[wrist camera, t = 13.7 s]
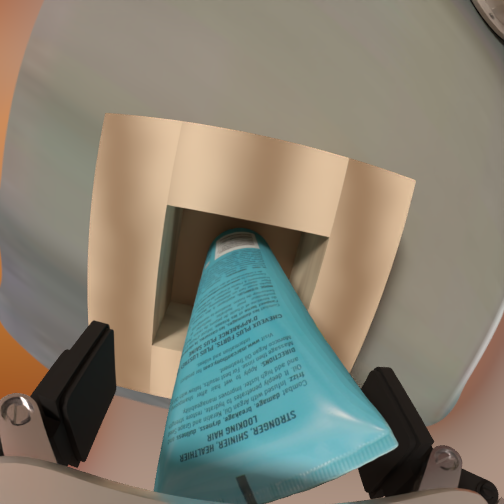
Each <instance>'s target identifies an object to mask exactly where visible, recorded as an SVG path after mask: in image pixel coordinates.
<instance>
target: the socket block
mask: <svg viewBox="0 0 504 504" xmlns="http://www.w3.org/2000/svg"><path fill="white" fill-rule="evenodd" d="M415 182H416V180H413V179H411V178H408V177H405V176H402V175H399V174H397V173H394V172H391V171H388V170H385V169H382V168H379V167H376V166H373V165H370V164H367V163H363V162H360V161H357V160H354V159H350V158H347V157H344V156H340V155H337V154H333V153H330V152H326V151H323V150H319V149H315V148H311V147H307V146H304V145H300V144H296V143H292V142H287V141H283V140H279V139H275V138H270V137H266V136H261V135H256V134H252V133H247V132H242V131H237V130H231V129H226V128H221V127H215V126H209V125H203V124H197V123H190V122H184V121H176V120H169V119H161V118H153V117H144V116H134V115H123V114H111V113H105V118H104V123H103V128H102V133H101V139H100V145H99V151H98V157H97V164H96V171H95V178H94V186H93V195H92V205H91V216H90V230H89V248H88V323H89V325H90V323H91V322H92V321H93V320H95V321H99V322H102V323H106V324H109V326H110V329H113V330H114V348H115V371H116V385H117V386H120V387H124V388H128V389H132V390H136V391H140V392H144V393H148V394H152V395H157V396H161V397H166V398H170V399H171V398H172V394H173V389H174V385H175V381H176V377H177V372H178V368H179V364H180V359H181V355H182V351H183V347H184V343H185V339H186V335H187V331H188V327H189V323H190V319H191V314H192V311H193V307H194V303H195V299H196V295H197V291H198V287H199V283H200V279H201V276H202V272H203V268H204V264H205V260H206V257H207V253H208V250H209V247H210V245H211V243H212V242H213V241H214V239H215V238H216V237H217V236H218V235H220V234H221V233H223V232H224V231H227V230H229V229H234V228H246V229H250V230H253V231H255V232H256V233H258V234H259V235H261V236H262V237H263V238H264V239H265V240H266V242H267V243H268V245H269V247H270V248H271V250H272V252H273V254H274V255H275V257H276V259H277V261H278V262H279V264H280V266H281V268H282V269H283V271H284V273H285V274H286V276H287V278H288V279H289V281H290V283H291V285H292V286H293V288H294V290H295V291H296V293H297V295H298V296H299V298H300V300H301V301H302V303H303V305H304V306H305V308H306V309H307V311H308V312H309V314H310V316H311V317H312V319H313V320H314V322H315V324H316V325H317V327H318V328H319V330H320V331H321V333H322V334H323V336H324V337H325V339H326V340H327V342H328V343H329V345H330V346H331V348H332V349H333V351H334V352H335V354H336V355H337V356H338V358H339V359H340V361H341V362H342V364H343V365H344V366H345V368H346V369H347V371H348V372H349V373H350V371H351V369H352V367H353V365H354V362H355V360H356V358H357V356H358V353H359V351H360V349H361V347H362V344H363V342H364V339H365V337H366V335H367V332H368V330H369V327H370V325H371V322H372V320H373V317H374V315H375V312H376V310H377V307H378V304H379V302H380V299H381V296H382V293H383V291H384V288H385V285H386V282H387V279H388V276H389V273H390V270H391V267H392V264H393V261H394V258H395V255H396V252H397V249H398V245H399V242H400V239H401V235H402V232H403V229H404V225H405V221H406V218H407V214H408V210H409V207H410V203H411V199H412V195H413V191H414V186H415Z"/></svg>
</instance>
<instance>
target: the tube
mask: <svg viewBox="0 0 504 504" xmlns="http://www.w3.org/2000/svg"><path fill="white" fill-rule="evenodd" d="M396 447H398V442H397V440H396V438H395V436H394V434H393V432H392V430H391V428H390V427H389V425H388V423H387V422H386V421H385V419H384V418H383V417H382V415H381V414H380V413H379V412H378V410H377V409H376V408H375V407H374V406H373V404H372V403H371V402H370V401H369V400H368V398H367V397H366V396H365V395H364V393H363V392H362V390H361V389H360V388H359V386H358V385H357V384H356V382H355V381H354V380H353V378H352V377H351V375H350V374H349V372H348V371H347V369H346V368H345V366H344V365H343V364H342V362H341V361H340V359H339V358H338V356H337V355H336V354H335V352H334V351H333V349H332V348H331V346H330V345H329V343H328V342H327V340H326V339H325V337H324V336H323V334H322V333H321V331H320V330H319V328H318V327H317V325H316V324H315V322H314V320H313V319H312V317H311V316H310V314H309V312H308V311H307V309H306V308H305V306H304V305H303V303H302V301H301V300H300V298H299V296H298V295H297V293H296V291H295V290H294V288H293V286H292V285H291V283H290V281H289V279H288V278H287V276H286V274H285V273H284V271H283V269H282V268H281V266H280V264H279V262H278V261H277V259H276V257H275V255H274V254H273V252H272V250H271V248H270V247H269V245H268V243H267V242H266V240H265V239H264V238H263V237H262V236H261V235H259V234H258V233H256V232H255V231H253V230H250V229H246V228H234V229H229V230H227V231H224V232H223V233H221V234H220V235H218V236H217V237H216V238H215V239H214V241H213V242H212V243H211V245H210V247H209V250H208V253H207V257H206V260H205V264H204V268H203V272H202V276H201V279H200V283H199V287H198V291H197V295H196V299H195V303H194V307H193V311H192V314H191V319H190V323H189V327H188V331H187V335H186V339H185V343H184V347H183V351H182V355H181V359H180V364H179V368H178V372H177V377H176V381H175V385H174V389H173V394H172V398H171V403H170V407H169V412H168V417H167V421H166V427H165V432H164V437H163V442H162V447H161V452H160V457H159V463H158V467H157V473H156V479H155V486H154V492H159V493H163V494H168V495H173V496H179V497H185V498H191V499H197V500H204V501H212V502H221V503H231V504H266V503H269V502H273V501H275V500H278V499H281V498H285V497H288V496H291V495H293V494H296V493H300V492H304V491H307V490H310V489H312V488H315V487H317V486H319V485H322V484H324V483H326V482H329V481H332V480H334V479H336V478H339V477H341V476H342V475H344V474H346V473H348V472H350V471H352V470H354V469H357V468H359V467H361V466H363V465H365V464H366V463H369V462H371V461H373V460H375V459H376V458H377V457H380V456H382V455H384V454H386V453H388V452H390V451H392V450H394V449H395V448H396Z"/></svg>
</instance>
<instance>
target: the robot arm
mask: <svg viewBox="0 0 504 504" xmlns="http://www.w3.org/2000/svg"><path fill="white" fill-rule="evenodd" d="M472 2H473V3H474V5H475V7H476V8H477V10H478V11H479V13H480V14H481V16H482V17H483V18H484V20H485V21H486V22H487V23H488V25H489V26H490V27H491V28H492V29H493V30H494V31H495V32H496V34H498V35H499V36H500V37H501V38H502V39H503V40H504V0H472ZM361 390H362V392H363V393H364V395H365V396H366V397H367V398H368V400H369V401H370V402H371V403H372V404H373V406H374V407H375V408H376V409H377V410H378V412H379V413H380V414H381V415H382V417H383V418H384V419H385V421H386V422H387V423H388V425H389V427H390V428H391V430H392V432H393V434H394V436H395V438H396V440H397V442H398V447H396V448H395V449H394V450H392V451H390V452H388V453H386V454H384V455H382V456H380V457H377V458H376V459H375V460H373V461H371V462H369V463H366V464H365V465H363V466H361V467H359V468H358V470H359V474H360V477H361V480H362V483H363V486H364V489H365V491H366V492H368V493H369V496H370V499H371V500H364V501H357V502H348V503H338V504H504V499H503V498H502V497H501V498H500V499H499V500H498V490H497V488H496V487H495V485H494V484H493V483H491V482H490V481H488V480H486V479H483V478H481V477H479V476H477V475H475V474H472V473H470V472H468V471H466V470H464V469H462V459H461V457H460V455H459V454H458V452H457V451H455V450H454V449H453V448H451V447H449V446H445V445H440V446H436V447H435V448H434V449H433V448H432V446H431V445H432V444H433V443H434V440H433V439H432V437H431V435H430V433H429V431H428V430H427V428H426V426H425V424H424V422H423V421H422V419H421V417H420V415H419V414H418V412H417V410H416V409H415V407H414V405H413V403H412V402H411V400H410V398H409V397H408V395H407V393H406V392H405V390H404V388H403V386H402V385H401V383H400V381H399V380H398V378H397V377H396V375H395V373H394V372H393V370H392V369H391V368H389V367H376V368H375V369H374V370H373V371H371V372H370V373H369V375H368V377H367V379H366V381H365V383H364V385H363V387H362V388H361ZM115 391H116V371H115V348H114V330H113V329H110V326H109V324H106V323H102V322H99V321H95V320H93V321H92V322H91V323H90V325H89V326H88V327H87V329H86V330H85V331H84V332H83V334H82V335H81V336H80V338H79V339H78V340H77V341H76V343H75V344H74V345H73V347H72V348H71V349H70V350H68V349H67V350H65V351H64V352H63V353H62V354H61V355H60V356H59V358H58V359H57V360H56V362H55V363H54V364H53V366H52V367H51V368H50V370H49V371H48V372H47V374H46V375H45V377H44V378H43V380H42V381H41V382H40V384H39V385H38V386H37V388H36V389H35V391H34V392H33V393H32V395H31V396H30V397H29V396H27V395H24V394H20V393H19V394H18V393H14V394H10V395H7V396H5V397H4V398H2V399H1V400H0V504H231V503H221V502H212V501H204V500H197V499H191V498H185V497H179V496H173V495H168V494H163V493H159V492H154V491H149V490H145V489H141V488H137V487H133V486H129V485H125V484H122V483H118V482H115V481H111V480H108V479H104V478H101V477H98V476H95V475H92V474H89V473H86V472H82V471H79V470H76V469H73V468H70V467H67V466H68V464H69V465H71V466H74V467H78V466H79V463H80V461H82V462H85V461H86V459H87V457H88V454H89V452H90V449H91V447H92V445H93V442H94V440H95V437H96V435H97V433H98V430H99V428H100V426H101V424H102V421H103V419H104V417H105V414H106V412H107V410H108V408H109V405H110V403H111V401H112V399H113V397H114V394H115ZM383 496H385V497H384V498H381V497H383ZM375 498H378V499H375Z"/></svg>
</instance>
